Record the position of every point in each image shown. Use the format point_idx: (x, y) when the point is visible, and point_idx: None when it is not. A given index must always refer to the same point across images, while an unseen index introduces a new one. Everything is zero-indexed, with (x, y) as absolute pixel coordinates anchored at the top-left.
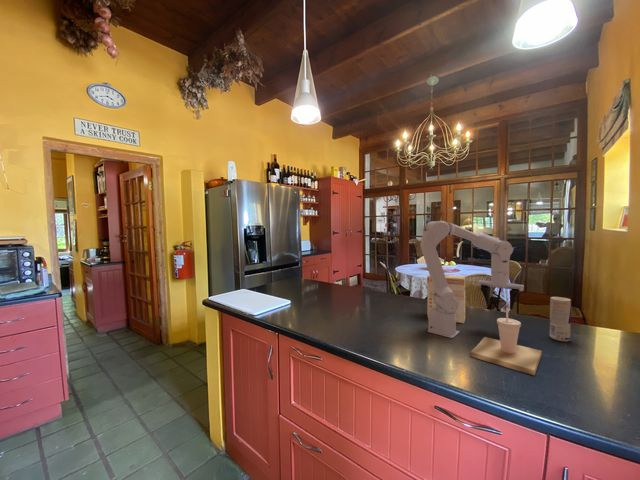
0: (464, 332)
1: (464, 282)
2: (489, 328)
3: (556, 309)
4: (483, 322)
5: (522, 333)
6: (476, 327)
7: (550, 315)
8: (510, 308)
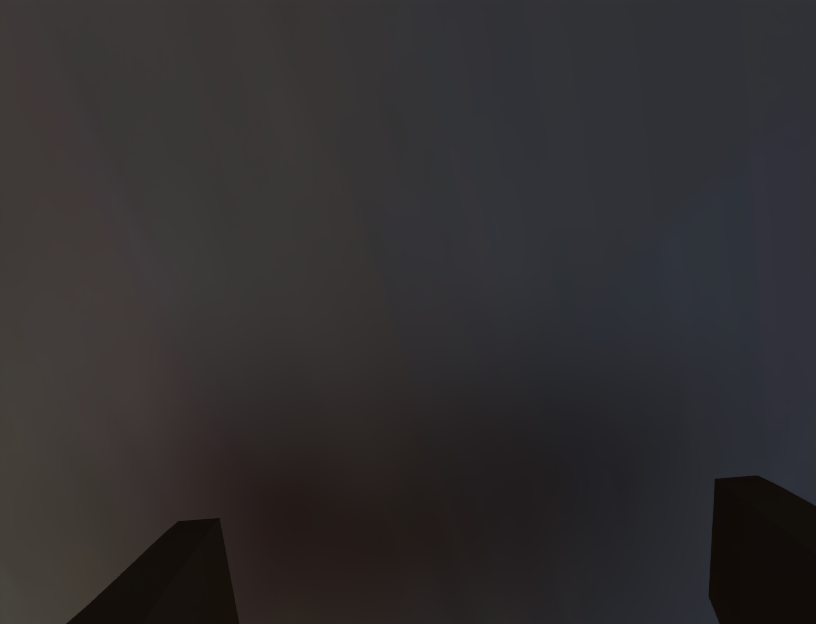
0: None
1: None
2: (280, 239)
3: None
4: (97, 9)
5: (678, 102)
6: (142, 333)
7: None
8: (726, 609)
